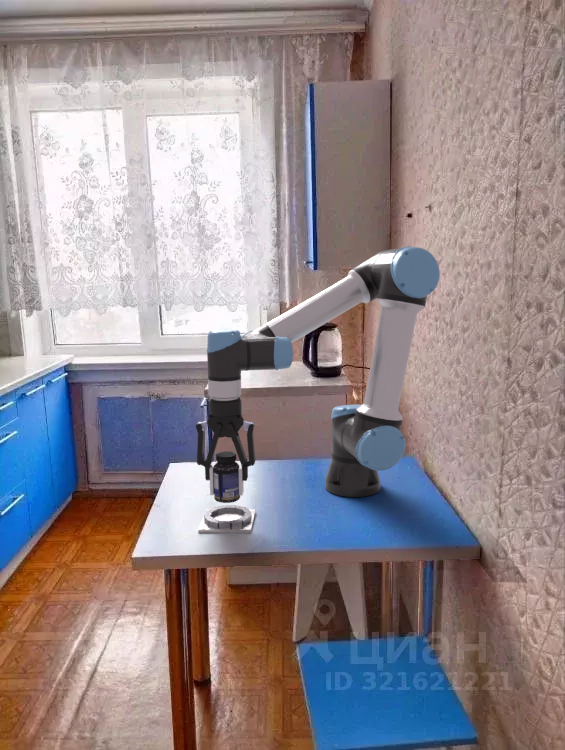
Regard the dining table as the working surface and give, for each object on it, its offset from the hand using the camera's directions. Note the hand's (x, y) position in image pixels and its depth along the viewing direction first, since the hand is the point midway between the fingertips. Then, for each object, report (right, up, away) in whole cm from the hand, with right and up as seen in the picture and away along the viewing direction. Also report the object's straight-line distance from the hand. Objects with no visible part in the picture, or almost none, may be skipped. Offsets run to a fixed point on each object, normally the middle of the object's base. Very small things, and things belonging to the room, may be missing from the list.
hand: (227, 493), depth 140 cm
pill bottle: (0, -2, 0) cm, 2 cm away
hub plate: (0, -7, +1) cm, 7 cm away
